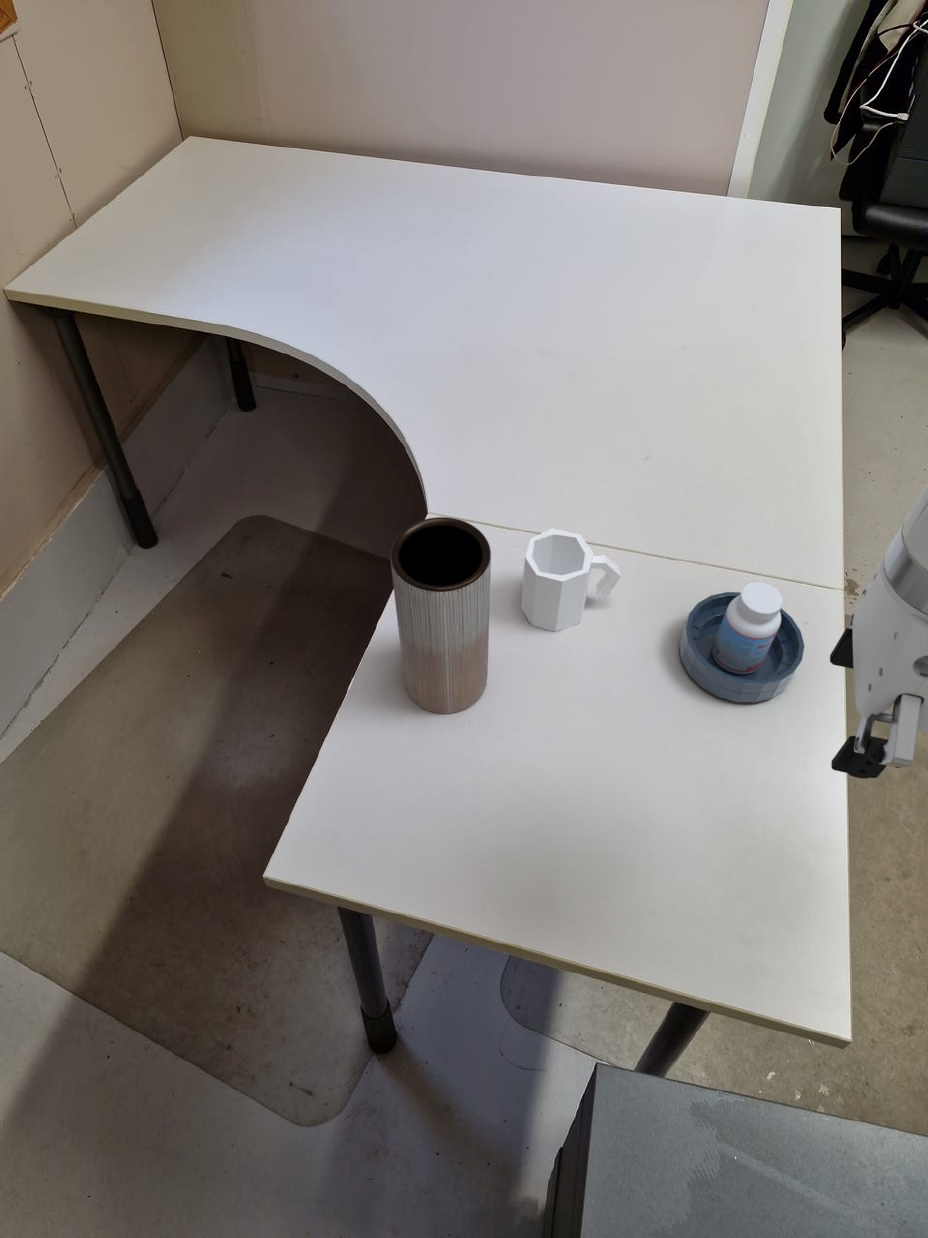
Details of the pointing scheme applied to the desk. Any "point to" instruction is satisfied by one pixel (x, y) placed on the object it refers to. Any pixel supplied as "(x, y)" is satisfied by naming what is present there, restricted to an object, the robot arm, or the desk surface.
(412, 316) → the desk surface
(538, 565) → the mug
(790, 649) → the dish
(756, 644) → the pill bottle
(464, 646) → the planter
